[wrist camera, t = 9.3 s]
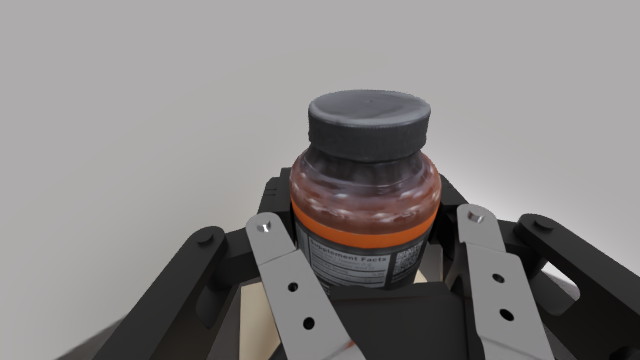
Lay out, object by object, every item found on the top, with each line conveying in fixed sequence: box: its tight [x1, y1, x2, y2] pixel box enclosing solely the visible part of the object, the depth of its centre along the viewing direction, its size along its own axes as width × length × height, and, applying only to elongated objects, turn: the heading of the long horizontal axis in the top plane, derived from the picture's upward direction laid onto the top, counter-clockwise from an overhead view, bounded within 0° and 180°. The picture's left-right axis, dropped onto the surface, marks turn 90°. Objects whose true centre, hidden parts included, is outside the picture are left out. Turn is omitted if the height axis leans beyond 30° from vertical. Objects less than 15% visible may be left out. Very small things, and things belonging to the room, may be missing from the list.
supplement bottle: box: [289, 90, 442, 296], centre depth 11 cm, size 6×6×11 cm
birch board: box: [239, 269, 427, 360], centre depth 21 cm, size 20×16×1 cm
